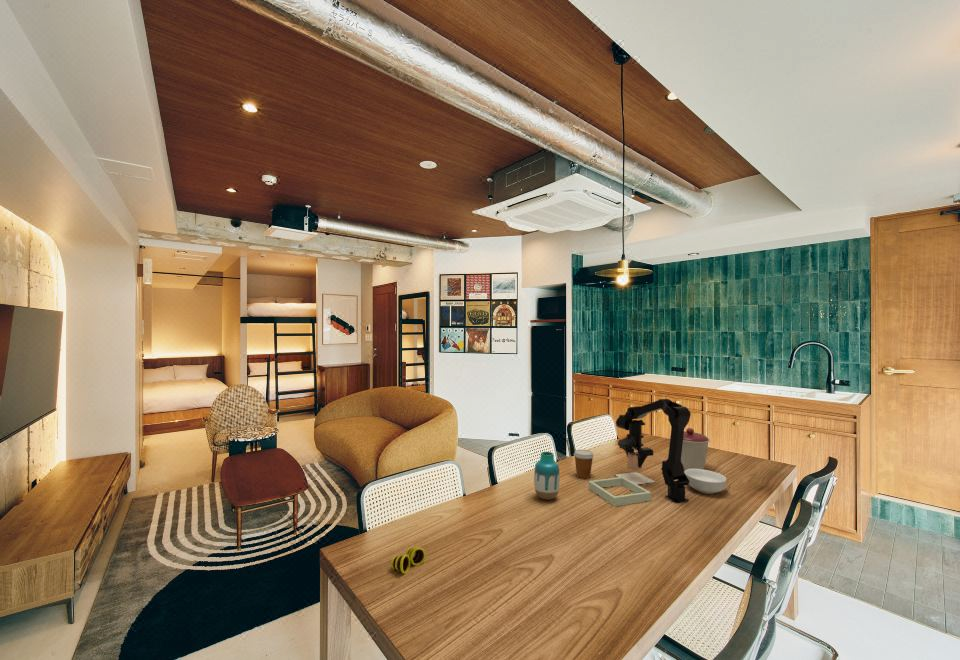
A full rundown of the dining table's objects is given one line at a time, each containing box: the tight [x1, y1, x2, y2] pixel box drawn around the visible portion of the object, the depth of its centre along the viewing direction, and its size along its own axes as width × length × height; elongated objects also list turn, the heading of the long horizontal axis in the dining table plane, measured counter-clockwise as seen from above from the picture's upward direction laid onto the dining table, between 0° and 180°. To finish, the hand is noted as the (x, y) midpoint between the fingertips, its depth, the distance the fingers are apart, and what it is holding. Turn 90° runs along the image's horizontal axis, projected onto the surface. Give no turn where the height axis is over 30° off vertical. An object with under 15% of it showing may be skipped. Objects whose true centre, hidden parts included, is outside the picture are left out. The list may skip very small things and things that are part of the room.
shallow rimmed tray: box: [588, 477, 652, 507], centre depth 174 cm, size 18×18×4 cm
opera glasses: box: [390, 546, 426, 575], centre depth 121 cm, size 10×5×5 cm, turn 142°
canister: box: [681, 427, 711, 471], centre depth 208 cm, size 18×18×21 cm
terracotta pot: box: [627, 451, 643, 472], centre depth 192 cm, size 6×6×7 cm
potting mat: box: [615, 471, 656, 486], centre depth 193 cm, size 13×13×1 cm
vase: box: [533, 451, 561, 501], centre depth 170 cm, size 11×11×19 cm
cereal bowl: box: [684, 469, 728, 495], centre depth 180 cm, size 17×17×7 cm
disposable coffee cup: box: [573, 448, 595, 479], centre depth 195 cm, size 10×10×12 cm
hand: (634, 465), depth 192 cm, fingers closed on terracotta pot, 6 cm apart
